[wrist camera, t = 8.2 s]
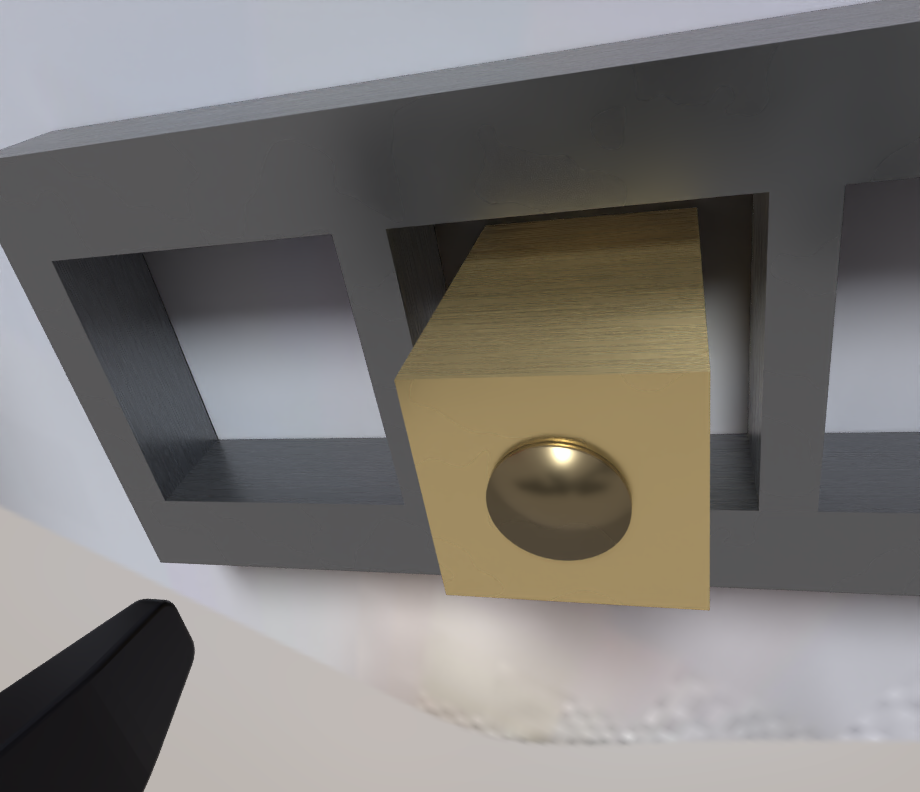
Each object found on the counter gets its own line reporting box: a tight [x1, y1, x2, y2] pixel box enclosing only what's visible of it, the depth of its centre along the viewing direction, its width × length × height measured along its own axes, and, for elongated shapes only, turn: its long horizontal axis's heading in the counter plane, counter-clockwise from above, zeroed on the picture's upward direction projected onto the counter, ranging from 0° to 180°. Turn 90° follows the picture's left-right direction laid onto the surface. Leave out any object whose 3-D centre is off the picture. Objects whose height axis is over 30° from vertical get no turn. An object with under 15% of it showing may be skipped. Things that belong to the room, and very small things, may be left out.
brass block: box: [394, 207, 710, 610], centre depth 13 cm, size 4×4×6 cm
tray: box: [0, 0, 920, 596], centre depth 14 cm, size 22×10×2 cm, turn 99°
